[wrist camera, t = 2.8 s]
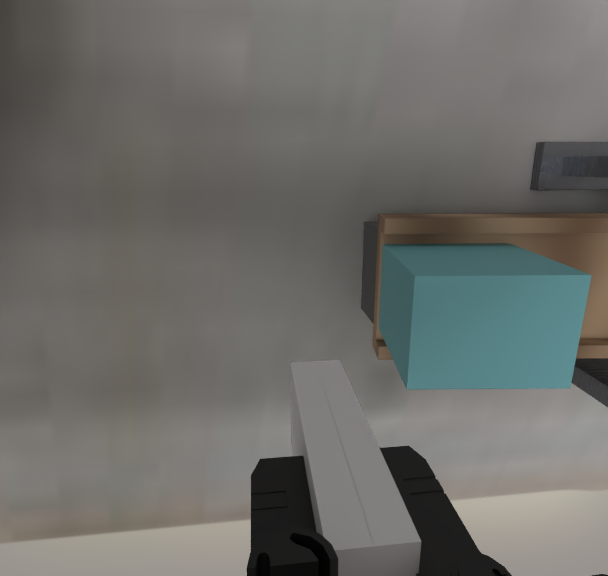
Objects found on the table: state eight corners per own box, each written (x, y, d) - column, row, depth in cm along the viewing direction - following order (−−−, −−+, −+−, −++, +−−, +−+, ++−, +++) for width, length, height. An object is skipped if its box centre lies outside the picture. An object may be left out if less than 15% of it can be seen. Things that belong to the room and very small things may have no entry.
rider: (378, 328, 25) (406, 389, 18) (382, 243, 24) (414, 275, 17) (498, 327, 25) (570, 388, 18) (509, 243, 24) (591, 275, 17)
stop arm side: (361, 307, 30) (378, 330, 26) (364, 222, 29) (383, 231, 25) (388, 306, 31) (410, 328, 26) (393, 221, 29) (416, 231, 25)
